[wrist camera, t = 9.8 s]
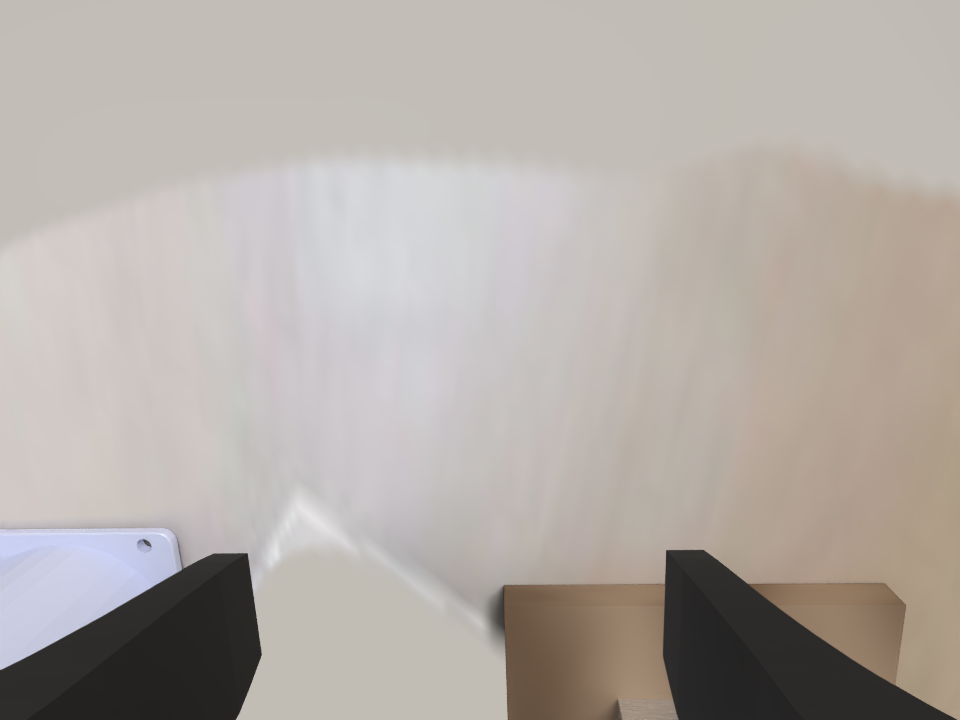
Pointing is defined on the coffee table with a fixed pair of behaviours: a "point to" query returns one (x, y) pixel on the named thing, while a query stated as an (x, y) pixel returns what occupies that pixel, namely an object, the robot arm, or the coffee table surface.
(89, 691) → the robot arm
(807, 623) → the brown peg base
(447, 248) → the coffee table surface
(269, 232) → the coffee table surface
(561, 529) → the coffee table surface
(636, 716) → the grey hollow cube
